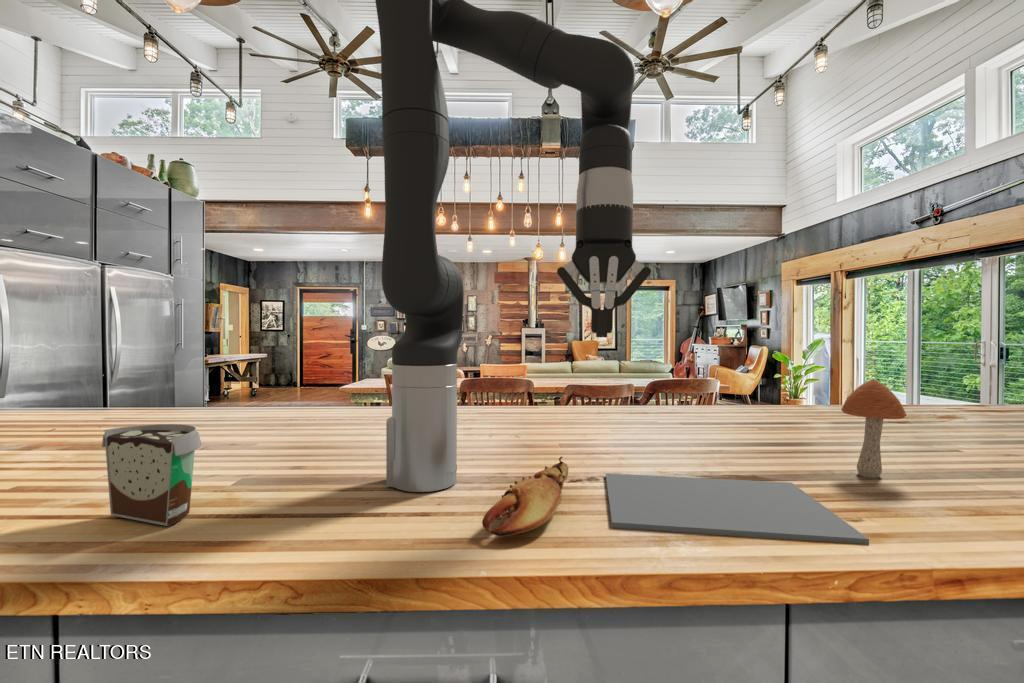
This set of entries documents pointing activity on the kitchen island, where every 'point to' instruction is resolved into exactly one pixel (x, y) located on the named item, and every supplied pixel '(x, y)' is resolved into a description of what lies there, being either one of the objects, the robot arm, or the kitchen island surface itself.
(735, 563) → the kitchen island surface
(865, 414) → the mushroom
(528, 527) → the crab claw
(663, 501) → the mat
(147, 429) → the food container
